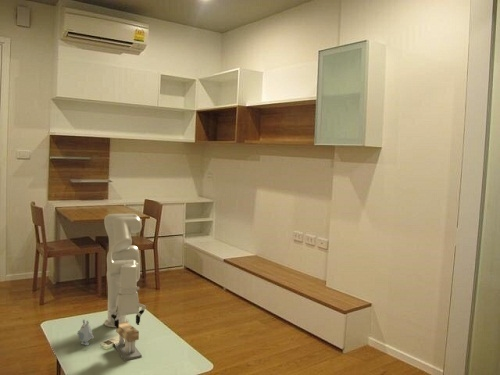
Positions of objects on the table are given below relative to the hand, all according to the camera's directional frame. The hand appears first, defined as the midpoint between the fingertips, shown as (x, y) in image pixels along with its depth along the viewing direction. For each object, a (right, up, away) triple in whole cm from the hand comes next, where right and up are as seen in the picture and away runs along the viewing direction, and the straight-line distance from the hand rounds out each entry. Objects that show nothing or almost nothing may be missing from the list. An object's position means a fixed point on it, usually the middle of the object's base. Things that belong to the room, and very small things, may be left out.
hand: (127, 325), depth 207 cm
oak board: (0, -5, 0) cm, 5 cm away
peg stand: (0, -12, 0) cm, 12 cm away
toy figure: (-22, -11, +5) cm, 25 cm away
